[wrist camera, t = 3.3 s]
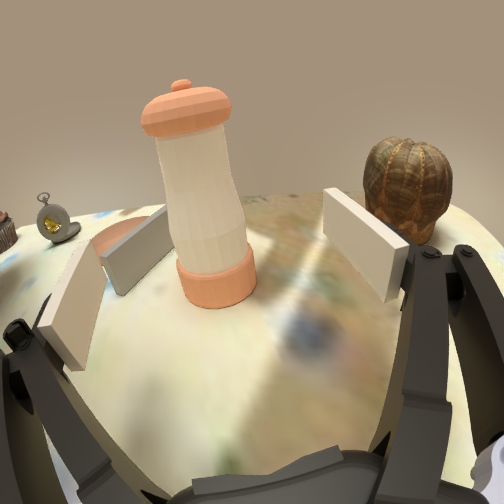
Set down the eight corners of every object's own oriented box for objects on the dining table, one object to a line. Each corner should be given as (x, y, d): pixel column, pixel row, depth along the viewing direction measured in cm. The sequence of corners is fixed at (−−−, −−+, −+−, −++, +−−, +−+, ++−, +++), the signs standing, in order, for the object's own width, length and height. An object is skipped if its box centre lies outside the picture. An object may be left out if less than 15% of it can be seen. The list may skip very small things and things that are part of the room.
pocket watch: (76, 223, 49) (60, 177, 44) (88, 232, 44) (70, 179, 39) (43, 243, 44) (24, 196, 38) (51, 255, 39) (29, 201, 34)
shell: (366, 257, 29) (373, 146, 23) (356, 213, 38) (357, 128, 32) (452, 259, 26) (473, 157, 20) (426, 216, 35) (435, 134, 29)
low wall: (116, 293, 29) (99, 255, 26) (198, 217, 42) (191, 186, 40) (123, 296, 28) (106, 257, 26) (204, 218, 42) (198, 186, 39)
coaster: (71, 258, 37) (70, 255, 37) (125, 217, 47) (124, 214, 46) (125, 272, 32) (123, 268, 32) (182, 221, 42) (181, 218, 42)
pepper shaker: (271, 281, 28) (248, 68, 17) (210, 321, 24) (153, 80, 14) (227, 254, 33) (197, 80, 22) (172, 284, 29) (122, 96, 19)
